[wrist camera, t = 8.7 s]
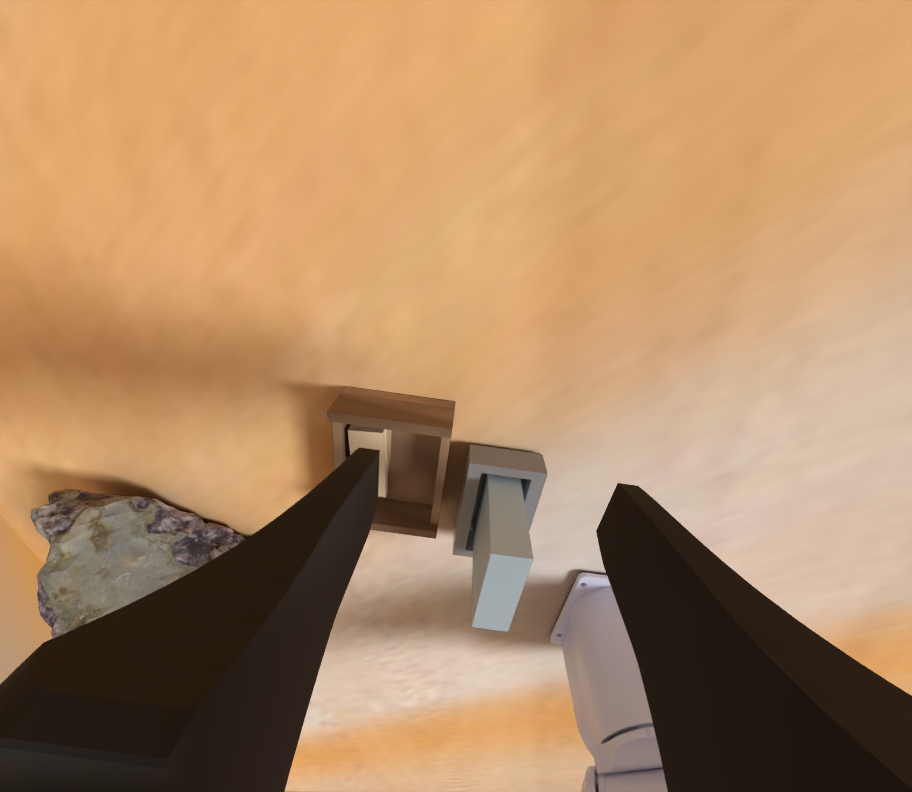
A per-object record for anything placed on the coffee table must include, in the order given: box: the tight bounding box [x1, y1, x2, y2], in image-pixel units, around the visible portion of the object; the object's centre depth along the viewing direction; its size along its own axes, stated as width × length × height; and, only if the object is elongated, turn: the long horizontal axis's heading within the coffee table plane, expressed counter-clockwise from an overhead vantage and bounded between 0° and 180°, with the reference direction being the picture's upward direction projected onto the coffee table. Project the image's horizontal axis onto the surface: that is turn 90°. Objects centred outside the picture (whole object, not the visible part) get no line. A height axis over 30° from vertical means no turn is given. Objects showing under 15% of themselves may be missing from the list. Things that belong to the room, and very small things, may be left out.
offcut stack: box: [348, 425, 392, 498], centre depth 22 cm, size 6×2×1 cm, turn 173°
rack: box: [327, 386, 455, 538], centre depth 22 cm, size 8×7×3 cm
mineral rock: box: [31, 489, 245, 638], centre depth 23 cm, size 13×11×10 cm
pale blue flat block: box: [472, 474, 533, 632], centre depth 21 cm, size 6×2×7 cm, turn 173°
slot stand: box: [453, 444, 547, 557], centre depth 23 cm, size 8×5×2 cm, turn 173°
